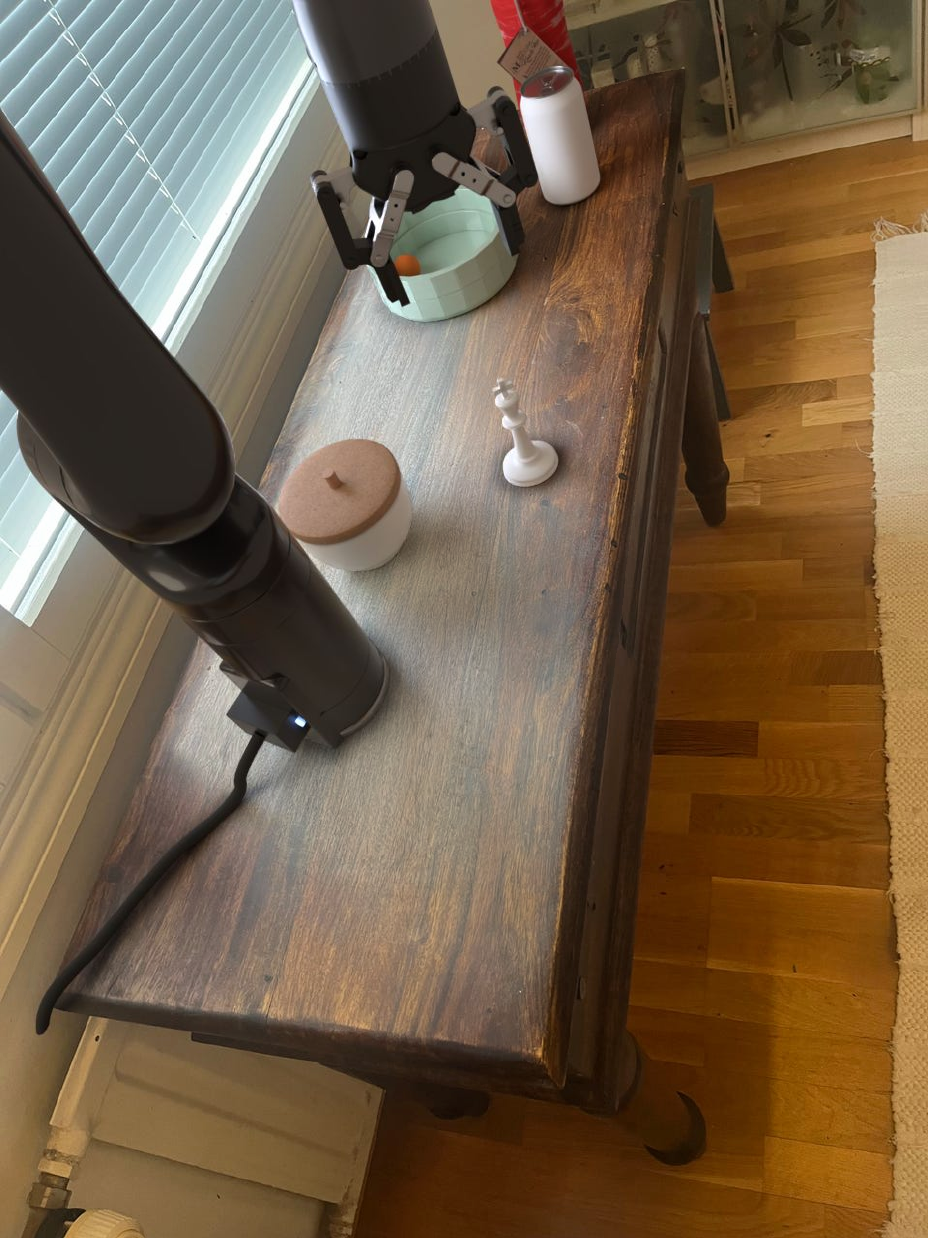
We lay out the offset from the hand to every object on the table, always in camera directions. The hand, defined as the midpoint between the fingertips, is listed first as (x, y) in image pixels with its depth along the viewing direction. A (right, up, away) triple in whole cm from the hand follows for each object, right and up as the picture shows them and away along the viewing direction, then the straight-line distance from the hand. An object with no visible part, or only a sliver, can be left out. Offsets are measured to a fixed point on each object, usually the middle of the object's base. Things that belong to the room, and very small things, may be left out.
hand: (458, 274), depth 67 cm
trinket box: (-8, -18, +16) cm, 25 cm away
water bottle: (+12, +32, +43) cm, 54 cm away
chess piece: (+6, -11, +15) cm, 20 cm away
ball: (-6, +13, +34) cm, 37 cm away
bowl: (-1, +13, +35) cm, 37 cm away
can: (+13, +23, +36) cm, 45 cm away
